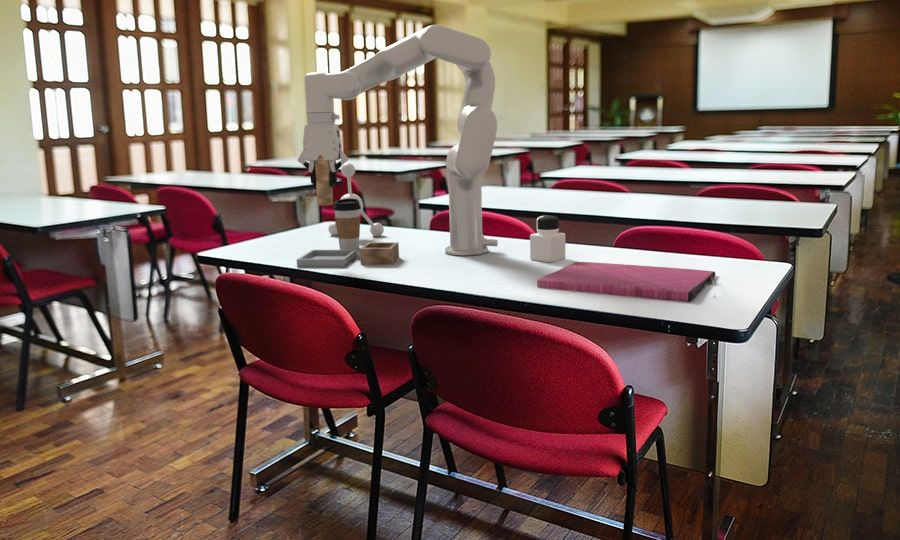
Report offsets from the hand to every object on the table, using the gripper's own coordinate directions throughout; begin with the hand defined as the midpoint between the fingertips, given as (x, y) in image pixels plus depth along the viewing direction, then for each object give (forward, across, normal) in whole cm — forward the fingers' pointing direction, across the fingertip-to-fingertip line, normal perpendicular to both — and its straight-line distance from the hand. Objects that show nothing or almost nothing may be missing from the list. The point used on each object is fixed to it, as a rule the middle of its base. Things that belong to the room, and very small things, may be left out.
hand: (324, 185), depth 215 cm
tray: (+22, 0, 0) cm, 22 cm away
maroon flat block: (+22, -83, +23) cm, 89 cm away
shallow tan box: (+22, -15, -1) cm, 26 cm away
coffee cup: (+22, -1, -19) cm, 29 cm away
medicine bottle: (+21, -62, -4) cm, 66 cm away
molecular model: (+22, +3, -36) cm, 42 cm away
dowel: (+5, 0, 0) cm, 5 cm away
